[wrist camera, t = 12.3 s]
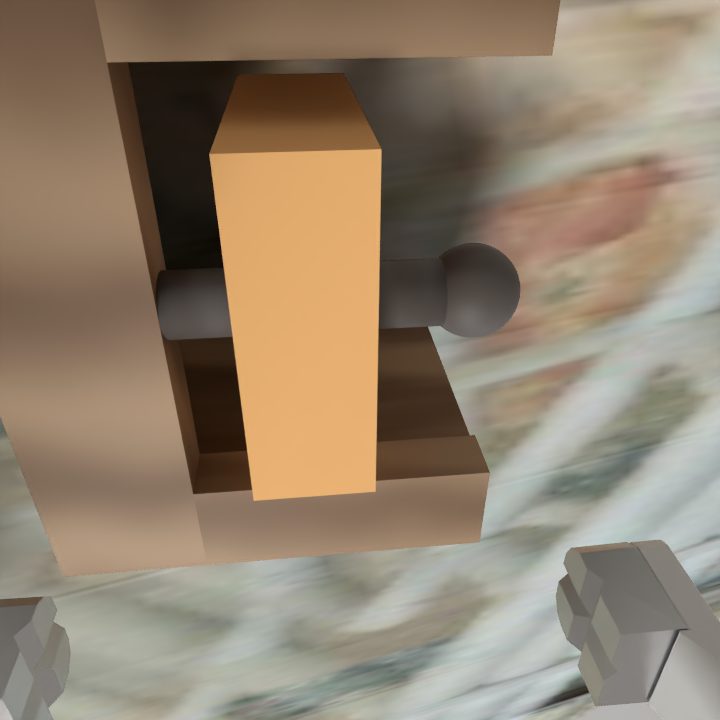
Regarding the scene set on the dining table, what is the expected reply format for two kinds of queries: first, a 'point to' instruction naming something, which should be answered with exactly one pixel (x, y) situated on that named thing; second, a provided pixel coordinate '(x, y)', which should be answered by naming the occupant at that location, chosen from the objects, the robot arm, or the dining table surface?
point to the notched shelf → (102, 256)
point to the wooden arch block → (302, 279)
